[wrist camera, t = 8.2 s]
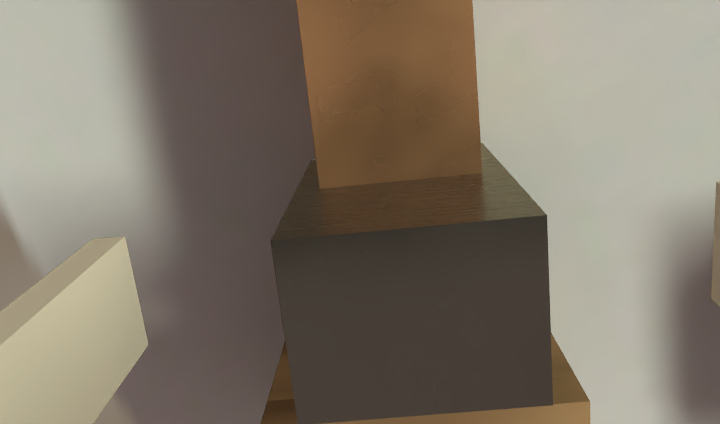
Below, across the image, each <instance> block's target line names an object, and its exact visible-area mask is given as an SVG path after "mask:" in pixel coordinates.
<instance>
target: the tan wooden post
mask: <svg viewBox="0 0 720 424" xmlns="http://www.w3.org/2000/svg"><path fill="white" fill-rule="evenodd" d="M296 2H297V10H298V18H299V26H300V34H301V42H302V50H303V58H304V67H305V75H306V83H307V91H308V99H309V107H310V115H311V123H312V131H313V139H314V147H315V155H316V160H311V162H310V164H309V166H308V168H307V170H306V172H305V174H304V176H303V178H302V180H301V182H300V184H299V186H298V187H297V189H296V191H295V193H294V195H293V197H292V199H291V201H290V203H289V205H288V207H287V209H286V211H285V213H284V215H283V217H282V219H281V221H280V223H279V225H278V227H277V229H276V231H275V233H274V235H273V237H272V239H271V246H272V253H273V260H274V267H275V273H276V280H277V287H278V294H279V301H280V307H281V314H282V321H283V328H284V335H285V341H286V348H287V355H288V362H289V369H290V375H291V382H292V389H293V396H294V402H295V409H296V416H297V423H298V424H320V423H333V422H346V421H359V420H372V419H385V418H397V417H410V416H423V415H436V414H449V413H461V412H474V411H487V410H500V409H513V408H526V407H538V406H551V405H553V387H552V356H551V326H550V296H549V266H548V236H547V215H546V214H545V213H544V211H543V210H542V209H541V208H540V207H539V206H538V205H537V204H536V203H535V201H534V200H533V199H532V198H531V197H530V196H529V195H528V194H527V192H526V191H525V190H524V189H523V188H522V187H521V186H520V185H519V184H518V182H517V181H516V180H515V179H514V178H513V177H512V176H511V175H510V173H509V172H508V171H507V170H506V169H505V168H504V167H503V166H502V165H501V163H500V162H499V161H498V160H497V159H496V158H495V157H494V156H493V154H492V153H491V152H490V151H489V150H488V149H487V148H486V147H485V146H484V144H483V143H480V125H479V108H478V91H477V74H476V57H475V40H474V23H473V6H472V0H296Z"/></svg>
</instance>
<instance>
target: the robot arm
mask: <svg viewBox="0 0 720 424" xmlns="http://www.w3.org/2000/svg"><path fill="white" fill-rule="evenodd" d="M711 299H712V300H713V301H714V302H715V303H716V304H717V305H718V306H719V307H720V182H716V200H715V222H714V243H713V265H712V286H711ZM147 346H148V340H147V335H146V331H145V326H144V322H143V317H142V312H141V308H140V303H139V299H138V294H137V289H136V285H135V280H134V275H133V271H132V266H131V262H130V257H129V252H128V248H127V243H126V239H125V236H121V237H111V238H100V239H92V240H91V241H89V242H88V243H87V244H86V245H84V246H83V247H82V248H81V249H79V250H78V251H77V252H75V253H74V254H73V255H72V256H70V257H69V258H68V259H67V260H65V261H64V262H63V263H62V264H60V265H59V266H58V267H56V268H55V269H54V270H53V271H51V272H50V273H49V274H48V275H46V276H45V277H44V278H43V279H41V280H40V281H39V282H37V283H36V284H35V285H34V286H32V287H31V288H30V289H29V290H28V291H26V292H25V293H24V294H22V295H21V296H20V297H18V298H17V299H16V300H15V301H13V302H12V303H11V304H10V305H8V306H7V307H6V308H5V309H3V310H2V311H1V312H0V424H93V423H94V422H95V421H96V419H97V418H98V416H99V415H100V413H101V412H102V410H103V409H104V408H105V406H106V405H107V403H108V402H109V401H110V399H111V398H112V396H113V395H114V393H115V392H116V391H117V389H118V388H119V386H120V385H121V383H122V382H123V381H124V379H125V378H126V376H127V375H128V373H129V372H130V371H131V369H132V368H133V366H134V365H135V363H136V362H137V361H138V359H139V358H140V356H141V355H142V353H143V352H144V351H145V349H146V348H147Z"/></svg>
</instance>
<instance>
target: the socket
mask: <svg viewBox="0 0 720 424" xmlns="http://www.w3.org/2000/svg"><path fill="white" fill-rule="evenodd" d="M551 356H552V387H553V405H551V406H538V407H526V408H513V409H500V410H487V411H474V412H461V413H449V414H436V415H423V416H410V417H397V418H385V419H372V420H359V421H346V422H333V423H320V424H590V401H589V399H588V397H587V395H586V394H585V392H584V390H583V388H582V387H581V385H580V383H579V381H578V379H577V378H576V376H575V374H574V372H573V371H572V369H571V367H570V365H569V364H568V362H567V360H566V358H565V356H564V355H563V353H562V351H561V349H560V348H559V346H558V344H557V342H556V341H555V339H554V337H553V335H552V333H551ZM261 424H298V423H297V416H296V409H295V402H294V396H293V389H292V382H291V375H290V369H289V362H288V355H287V348H286V341H285V343H284V347H283V350H282V354H281V357H280V360H279V364H278V367H277V370H276V374H275V377H274V381H273V384H272V387H271V391H270V394H269V397H268V401H267V404H266V408H265V411H264V414H263V418H262V421H261Z"/></svg>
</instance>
